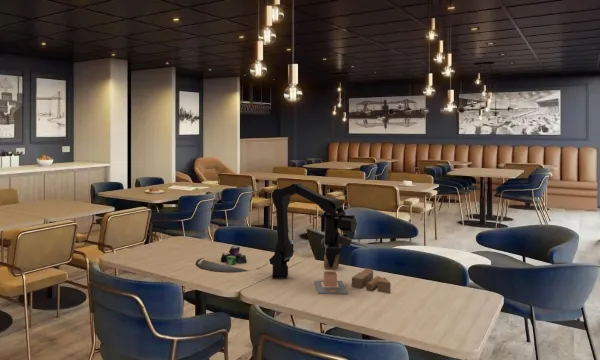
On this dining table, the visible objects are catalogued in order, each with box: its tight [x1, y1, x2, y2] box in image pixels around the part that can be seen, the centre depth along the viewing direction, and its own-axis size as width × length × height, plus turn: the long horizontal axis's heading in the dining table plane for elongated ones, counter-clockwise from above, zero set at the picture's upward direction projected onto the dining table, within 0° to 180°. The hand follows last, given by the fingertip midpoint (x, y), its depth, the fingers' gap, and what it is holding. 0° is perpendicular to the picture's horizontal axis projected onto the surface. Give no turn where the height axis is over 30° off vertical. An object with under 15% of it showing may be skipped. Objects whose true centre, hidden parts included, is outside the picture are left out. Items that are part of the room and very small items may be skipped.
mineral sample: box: [195, 245, 268, 273], centre depth 249 cm, size 35×35×9 cm
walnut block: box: [323, 254, 338, 271], centre depth 213 cm, size 5×5×5 cm
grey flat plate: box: [314, 280, 349, 295], centre depth 212 cm, size 12×16×1 cm
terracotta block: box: [322, 270, 338, 286], centre depth 214 cm, size 5×5×5 cm
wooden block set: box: [351, 268, 392, 294], centre depth 217 cm, size 17×6×18 cm
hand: (330, 265), depth 213 cm, fingers closed on walnut block, 5 cm apart
